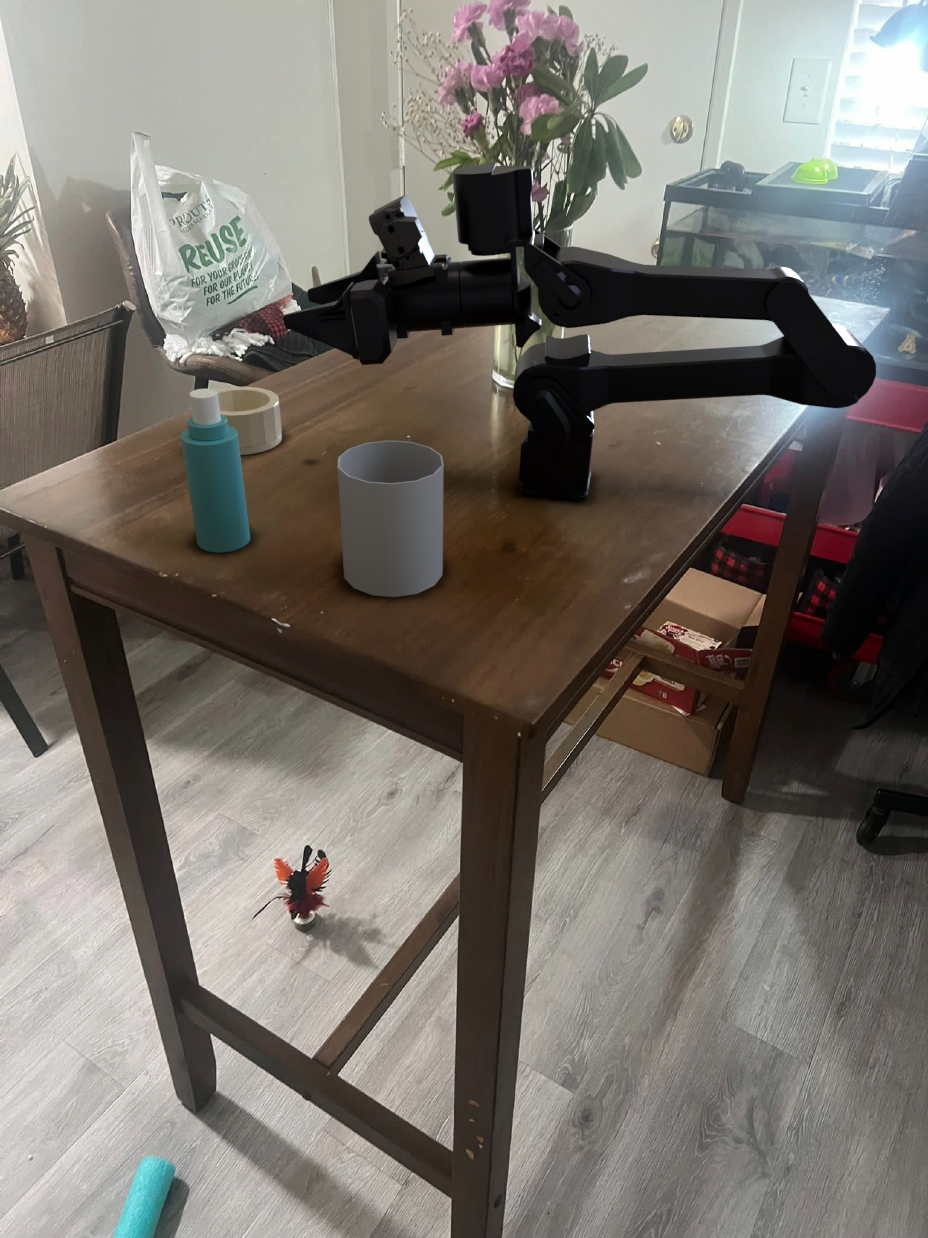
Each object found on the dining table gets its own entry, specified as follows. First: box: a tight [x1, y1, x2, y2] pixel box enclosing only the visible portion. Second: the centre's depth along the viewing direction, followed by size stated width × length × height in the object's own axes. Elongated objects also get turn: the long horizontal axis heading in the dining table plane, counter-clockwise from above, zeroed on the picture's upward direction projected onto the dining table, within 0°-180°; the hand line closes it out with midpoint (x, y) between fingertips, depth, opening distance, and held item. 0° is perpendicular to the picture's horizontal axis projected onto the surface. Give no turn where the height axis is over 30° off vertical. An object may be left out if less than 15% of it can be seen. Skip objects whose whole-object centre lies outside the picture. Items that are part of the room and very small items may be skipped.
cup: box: [337, 440, 444, 598], centre depth 74 cm, size 8×8×10 cm
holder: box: [214, 386, 283, 456], centre depth 98 cm, size 9×9×4 cm
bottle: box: [179, 388, 251, 554], centre depth 77 cm, size 5×5×14 cm
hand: (296, 307), depth 84 cm, fingers open, 9 cm apart
